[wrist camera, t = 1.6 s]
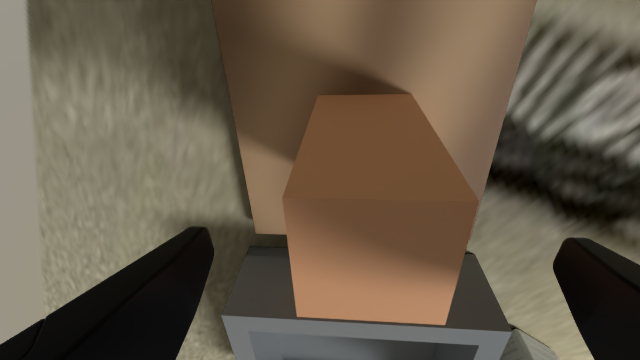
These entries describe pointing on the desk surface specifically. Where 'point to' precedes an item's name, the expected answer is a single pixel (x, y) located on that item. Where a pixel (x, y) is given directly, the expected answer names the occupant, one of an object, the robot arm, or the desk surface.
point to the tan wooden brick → (375, 213)
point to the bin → (355, 321)
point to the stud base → (366, 75)
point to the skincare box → (526, 348)
